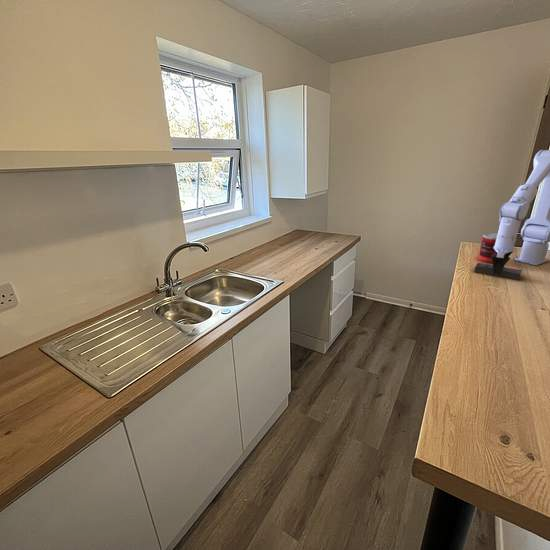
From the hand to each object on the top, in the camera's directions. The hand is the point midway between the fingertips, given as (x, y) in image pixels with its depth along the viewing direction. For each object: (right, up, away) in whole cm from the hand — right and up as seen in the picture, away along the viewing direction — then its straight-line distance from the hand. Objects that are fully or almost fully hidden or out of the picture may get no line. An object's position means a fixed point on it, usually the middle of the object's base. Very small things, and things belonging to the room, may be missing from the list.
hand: (497, 270), depth 114 cm
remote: (0, -1, +1) cm, 2 cm away
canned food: (+7, +4, +14) cm, 16 cm away
